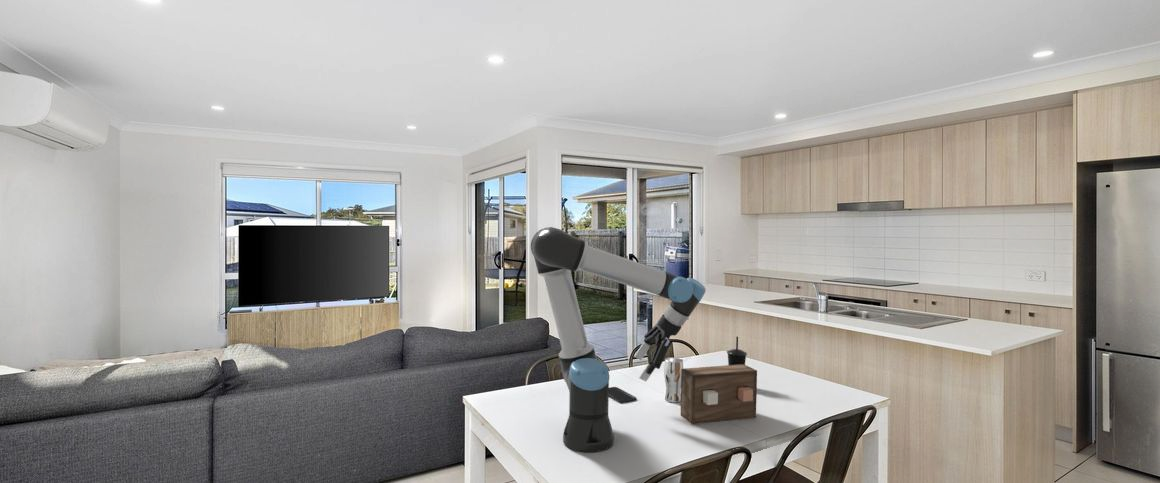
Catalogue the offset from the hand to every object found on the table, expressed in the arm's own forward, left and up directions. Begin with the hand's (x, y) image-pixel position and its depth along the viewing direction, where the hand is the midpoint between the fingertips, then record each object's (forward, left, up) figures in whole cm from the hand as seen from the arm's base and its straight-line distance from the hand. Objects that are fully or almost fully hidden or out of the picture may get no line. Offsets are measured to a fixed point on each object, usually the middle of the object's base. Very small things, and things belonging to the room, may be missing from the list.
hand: (639, 368), depth 178 cm
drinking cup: (+46, -20, -15) cm, 53 cm away
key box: (+10, -25, -15) cm, 30 cm away
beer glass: (+16, -6, -15) cm, 23 cm away
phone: (+8, +13, -15) cm, 22 cm away
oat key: (+3, -24, -7) cm, 25 cm away
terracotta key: (+13, -32, -7) cm, 35 cm away
